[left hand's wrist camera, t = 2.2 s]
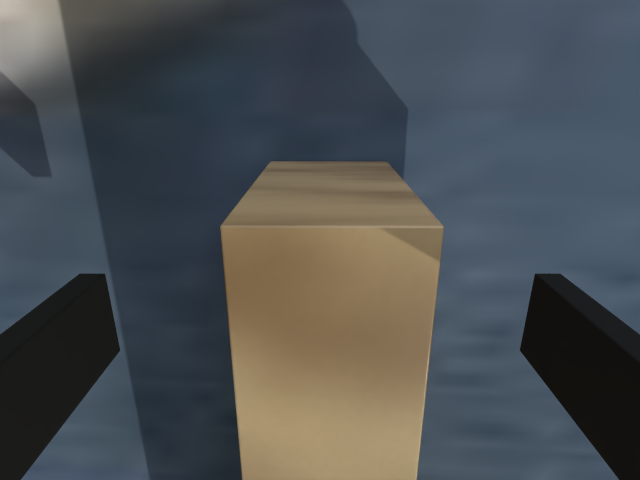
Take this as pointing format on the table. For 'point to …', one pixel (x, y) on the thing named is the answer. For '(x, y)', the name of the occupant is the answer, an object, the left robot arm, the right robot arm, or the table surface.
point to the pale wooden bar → (330, 320)
